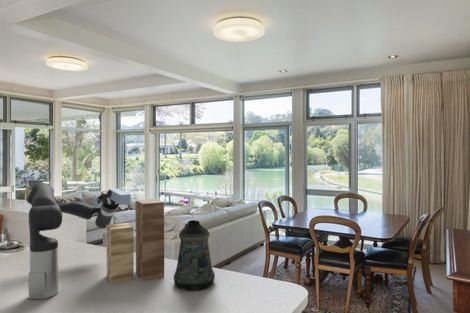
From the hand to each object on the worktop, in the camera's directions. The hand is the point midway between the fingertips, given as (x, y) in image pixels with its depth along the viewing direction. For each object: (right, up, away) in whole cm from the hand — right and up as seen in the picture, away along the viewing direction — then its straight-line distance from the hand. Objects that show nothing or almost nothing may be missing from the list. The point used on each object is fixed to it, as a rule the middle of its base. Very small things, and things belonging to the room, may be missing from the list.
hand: (116, 191), depth 148 cm
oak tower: (+3, -36, -5) cm, 37 cm away
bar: (+3, -3, -5) cm, 7 cm away
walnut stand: (+15, -36, -2) cm, 39 cm away
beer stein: (+35, -36, -11) cm, 52 cm away
